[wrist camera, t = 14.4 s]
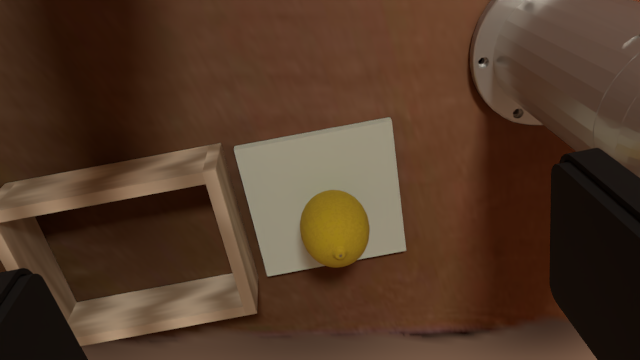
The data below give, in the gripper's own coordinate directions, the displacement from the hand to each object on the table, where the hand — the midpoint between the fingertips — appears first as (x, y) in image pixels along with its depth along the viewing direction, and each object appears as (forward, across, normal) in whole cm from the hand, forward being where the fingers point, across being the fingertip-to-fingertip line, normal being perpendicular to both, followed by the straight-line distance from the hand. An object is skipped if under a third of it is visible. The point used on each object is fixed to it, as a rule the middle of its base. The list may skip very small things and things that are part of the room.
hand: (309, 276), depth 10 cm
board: (+33, 0, +18) cm, 37 cm away
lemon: (+32, -1, +17) cm, 37 cm away
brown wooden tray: (+33, +16, +17) cm, 41 cm away
